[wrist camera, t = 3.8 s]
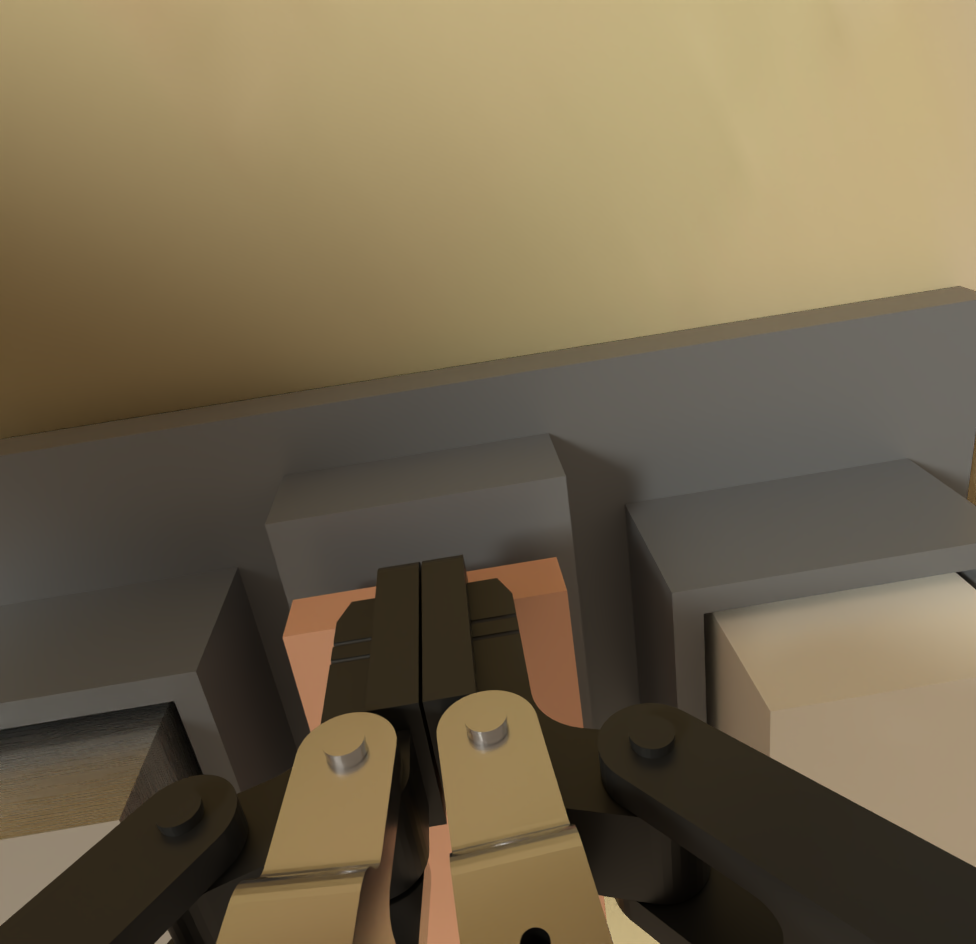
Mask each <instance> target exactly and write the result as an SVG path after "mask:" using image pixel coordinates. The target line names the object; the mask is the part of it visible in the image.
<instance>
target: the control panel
mask: <svg viewBox="0 0 976 944" xmlns="http://www.w3.org/2000/svg"><path fill="white" fill-rule="evenodd" d="M975 435H976V291H974V290H970V289H967V288H964V287H961V286H957V287H950V288H944V289H938V290H932V291H925V292H919V293H913V294H906V295H900V296H894V297H888V298H881V299H875V300H869V301H863V302H856V303H850V304H844V305H838V306H831V307H825V308H819V309H813V310H806V311H800V312H794V313H787V314H781V315H775V316H769V317H762V318H756V319H750V320H744V321H737V322H731V323H725V324H719V325H712V326H706V327H700V328H694V329H687V330H681V331H675V332H668V333H662V334H656V335H650V336H643V337H637V338H631V339H625V340H618V341H612V342H606V343H600V344H593V345H587V346H581V347H575V348H568V349H562V350H556V351H549V352H543V353H537V354H531V355H524V356H518V357H512V358H506V359H499V360H493V361H487V362H481V363H474V364H468V365H462V366H456V367H449V368H443V369H437V370H430V371H424V372H418V373H412V374H405V375H399V376H393V377H387V378H380V379H374V380H368V381H362V382H355V383H349V384H343V385H337V386H330V387H324V388H318V389H311V390H305V391H299V392H293V393H286V394H280V395H274V396H268V397H261V398H255V399H249V400H243V401H236V402H230V403H224V404H218V405H211V406H205V407H199V408H193V409H186V410H180V411H174V412H167V413H161V414H155V415H149V416H142V417H136V418H130V419H124V420H117V421H111V422H105V423H99V424H92V425H86V426H80V427H74V428H67V429H61V430H55V431H48V432H42V433H36V434H30V435H23V436H17V437H11V438H5V439H0V730H1V729H7V728H13V727H19V726H25V725H31V724H38V723H44V722H50V721H56V720H62V719H68V718H74V717H80V716H86V715H92V714H98V713H104V712H110V711H116V710H123V709H129V708H135V707H141V706H147V705H153V704H159V703H165V702H171V701H174V702H175V704H176V707H177V709H178V712H179V714H180V717H181V719H182V722H183V724H184V727H185V729H186V732H187V735H188V737H189V740H190V742H191V745H192V747H193V750H194V752H195V755H196V757H197V760H198V762H199V765H200V767H201V770H202V772H203V775H215V776H219V777H222V778H224V779H226V780H227V781H229V782H230V783H231V784H232V786H233V787H234V789H235V791H236V794H238V793H240V792H243V791H245V790H247V789H250V788H252V787H254V786H257V785H259V784H261V783H264V782H266V781H268V780H271V779H273V778H275V777H277V776H279V775H281V774H282V773H284V772H286V771H287V770H289V769H290V768H292V767H293V764H294V760H295V757H296V753H297V751H298V748H299V746H300V745H301V743H302V741H303V740H304V739H305V738H306V737H307V735H308V734H309V733H310V728H309V725H308V721H307V718H306V715H305V711H304V708H303V705H302V701H301V698H300V695H299V691H298V688H297V684H296V681H295V678H294V674H293V671H292V668H291V664H290V661H289V658H288V654H287V651H286V647H285V644H284V641H283V634H284V630H285V627H286V623H287V619H288V616H289V612H290V609H291V605H292V602H293V600H296V599H302V598H308V597H314V596H320V595H326V594H332V593H338V592H345V591H351V590H357V589H363V588H369V587H375V586H376V581H377V571H378V569H379V568H384V567H390V566H396V565H402V564H408V563H415V562H420V563H421V566H422V561H426V560H432V559H438V558H444V557H451V556H457V555H463V557H464V561H465V566H466V572H467V571H473V570H479V569H485V568H492V567H498V566H504V565H510V564H516V563H522V562H528V561H534V560H541V559H547V558H553V557H557V560H558V563H559V567H560V570H561V573H562V576H563V579H564V582H565V585H566V589H567V594H568V602H569V610H570V619H571V627H572V636H573V644H574V652H575V661H576V669H577V677H578V686H579V694H580V702H581V711H582V719H583V728H588V729H599V730H600V729H601V727H602V726H603V724H604V722H605V721H606V720H607V719H608V718H609V717H610V716H612V715H613V714H614V713H616V712H617V711H619V710H621V709H623V708H626V707H629V706H632V705H636V704H643V703H658V704H664V705H669V706H672V707H676V708H678V709H680V710H682V711H685V712H686V713H688V714H690V715H692V716H694V717H696V718H698V719H700V720H701V721H703V722H705V723H707V715H706V681H705V646H704V614H706V613H712V612H718V611H724V610H730V609H736V608H742V607H748V606H754V605H760V604H766V603H772V602H778V601H784V600H791V599H797V598H803V597H809V596H815V595H821V594H827V593H833V592H839V591H845V590H851V589H857V588H863V587H869V586H876V585H882V584H888V583H894V582H900V581H906V580H912V579H918V578H924V577H930V576H936V575H942V574H948V573H955V572H956V573H957V574H958V575H959V576H960V577H962V578H963V579H964V580H965V581H966V582H967V583H969V584H970V585H971V586H972V587H973V588H974V589H976V506H975V505H974V504H972V503H971V502H970V501H968V500H967V495H968V488H969V480H970V473H971V465H972V458H973V450H974V442H975Z"/></svg>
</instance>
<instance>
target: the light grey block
mask: <svg viewBox="0 0 976 944" xmlns="http://www.w3.org/2000/svg"><path fill="white" fill-rule="evenodd" d="M196 775H203V772H202V770H201V767H200V765H199V762H198V760H197V757H196V755H195V752H194V750H193V747H192V745H191V742H190V740H189V737H188V735H187V732H186V729H185V727H184V724H183V722H182V719H181V717H180V714H179V712H178V709H177V707H176V704H175V702H174V701H171V702H165V703H159V704H153V705H147V706H141V707H135V708H129V709H123V710H116V711H110V712H104V713H98V714H92V715H86V716H80V717H74V718H68V719H62V720H56V721H50V722H44V723H38V724H31V725H25V726H19V727H13V728H7V729H1V730H0V926H1V925H2V924H3V923H4V922H5V921H6V920H8V919H9V918H10V917H11V916H12V915H13V914H15V913H16V912H17V911H18V910H19V909H20V908H22V907H23V906H24V905H25V904H26V903H27V902H29V901H30V900H31V899H32V898H33V897H34V896H36V895H37V894H38V893H39V892H40V891H41V890H43V889H44V888H45V887H46V886H47V885H48V884H50V883H51V882H52V881H53V880H54V879H55V878H57V877H58V876H59V875H60V874H61V873H62V872H64V871H65V870H66V869H67V868H68V867H69V866H71V865H72V864H73V863H74V862H75V861H76V860H78V859H79V858H80V857H81V856H82V855H83V854H85V853H86V852H87V851H88V850H89V849H90V848H92V847H93V846H94V845H95V844H96V843H97V842H99V841H100V840H101V839H102V838H103V837H105V836H106V835H107V834H108V833H109V832H110V831H112V830H113V829H114V828H115V827H116V826H117V825H119V824H120V823H121V822H122V821H123V820H124V819H126V818H127V817H128V816H129V815H130V814H131V813H133V812H134V811H135V810H136V809H137V808H138V807H140V806H141V805H142V804H143V803H144V802H145V801H147V800H148V799H149V798H150V797H151V796H153V795H154V794H155V793H157V792H158V791H159V790H161V789H163V788H164V787H166V786H168V785H170V784H172V783H174V782H176V781H178V780H181V779H184V778H187V777H191V776H196ZM171 939H172V938H171V936H170V934H169V932H168V930H167V931H166V932H165V933H164V934H163V935H162V936H161V937H160V938H159V939H158V940H157V941H156V942H155V943H154V944H167V943H168V942H169V941H170V940H171Z"/></svg>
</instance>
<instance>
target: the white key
mask: <svg viewBox="0 0 976 944" xmlns="http://www.w3.org/2000/svg"><path fill="white" fill-rule="evenodd" d="M704 646H705V681H706V715H707V724H709V725H711V726H713V727H714V728H716V729H718V730H720V731H722V732H724V733H726V734H728V735H729V736H731V737H733V738H735V739H737V740H739V741H741V742H743V743H744V744H746V745H748V746H750V747H752V748H754V749H756V750H757V751H759V752H761V753H763V754H765V755H767V756H769V757H771V758H772V759H774V760H776V761H778V762H780V763H782V764H784V765H786V766H787V767H789V768H791V769H793V770H795V771H797V772H799V773H800V774H802V775H804V776H806V777H808V778H810V779H812V780H814V781H815V782H817V783H819V784H821V785H823V786H825V787H827V788H829V789H830V790H832V791H834V792H836V793H838V794H840V795H842V796H843V797H845V798H847V799H849V800H851V801H853V802H855V803H857V804H858V805H860V806H862V807H864V808H866V809H868V810H870V811H872V812H873V813H875V814H877V815H879V816H881V817H883V818H885V819H887V820H888V821H890V822H892V823H894V824H896V825H898V826H900V827H901V828H903V829H905V830H907V831H909V832H911V833H913V834H915V835H916V836H918V837H920V838H922V839H924V840H926V841H928V842H930V843H931V844H933V845H935V846H937V847H939V848H941V849H943V850H944V851H946V852H948V853H950V854H952V855H954V856H956V857H958V858H959V859H961V860H963V861H965V862H967V863H969V864H971V865H973V866H974V867H976V589H974V588H973V587H972V586H971V585H970V584H969V583H967V582H966V581H965V580H964V579H963V578H962V577H960V576H959V575H958V574H957V573H956V572H955V573H948V574H942V575H936V576H930V577H924V578H918V579H912V580H906V581H900V582H894V583H888V584H882V585H876V586H869V587H863V588H857V589H851V590H845V591H839V592H833V593H827V594H821V595H815V596H809V597H803V598H797V599H791V600H784V601H778V602H772V603H766V604H760V605H754V606H748V607H742V608H736V609H730V610H724V611H718V612H712V613H706V614H704Z"/></svg>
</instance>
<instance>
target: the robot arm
mask: <svg viewBox="0 0 976 944" xmlns="http://www.w3.org/2000/svg"><path fill="white" fill-rule="evenodd" d="M333 644H334V647H333V648H332V654H331V665H330V667H329V674H328V680H327V686H326V693H325V699H324V705H323V712H322V718H321V724H320V725H319V726H318V727H316V728H315V729H314V730H313V731H312V732H310V733H309V734H308V735H307V737H306V738H305V739H304V740H303V741H302V743H301V745H300V746H299V748H298V751H297V753H296V757H295V760H294V764H293V767H292V768H290V769H289V770H287V771H286V772H284V773H282V774H281V775H279V776H277V777H275V778H273V779H271V780H268V781H266V782H264V783H261V784H259V785H257V786H254V787H252V788H250V789H247V790H245V791H243V792H240V793H238V794H236V791H235V789H234V787H233V786H232V784H231V783H230V782H229V781H227V780H226V779H224V778H222V777H219V776H215V775H196V776H191V777H187V778H184V779H181V780H178V781H176V782H174V783H172V784H170V785H168V786H166V787H164V788H163V789H161V790H159V791H158V792H157V793H155V794H154V795H153V796H151V797H150V798H149V799H148V800H147V801H145V802H144V803H143V804H142V805H141V806H140V807H138V808H137V809H136V810H135V811H134V812H133V813H131V814H130V815H129V816H128V817H127V818H126V819H124V820H123V821H122V822H121V823H120V824H119V825H117V826H116V827H115V828H114V829H113V830H112V831H110V832H109V833H108V834H107V835H106V836H105V837H103V838H102V839H101V840H100V841H99V842H97V843H96V844H95V845H94V846H93V847H92V848H90V849H89V850H88V851H87V852H86V853H85V854H83V855H82V856H81V857H80V858H79V859H78V860H76V861H75V862H74V863H73V864H72V865H71V866H69V867H68V868H67V869H66V870H65V871H64V872H62V873H61V874H60V875H59V876H58V877H57V878H55V879H54V880H53V881H52V882H51V883H50V884H48V885H47V886H46V887H45V888H44V889H43V890H41V891H40V892H39V893H38V894H37V895H36V896H34V897H33V898H32V899H31V900H30V901H29V902H27V903H26V904H25V905H24V906H23V907H22V908H20V909H19V910H18V911H17V912H16V913H15V914H13V915H12V916H11V917H10V918H9V919H8V920H6V921H5V922H4V923H3V924H2V925H1V926H0V944H154V943H155V942H156V941H157V940H158V939H159V938H160V937H161V936H162V935H163V934H164V933H165V932H166V931H167V930H168V932H169V934H170V936H171V938H172V939H171V940H170V941H169V942H168V943H167V944H427V938H428V923H429V908H430V893H431V870H430V866H429V862H428V859H429V827H432V826H438V825H444V824H447V820H446V810H447V818H448V825H449V833H450V840H451V848H452V853H450V869H451V877H452V885H453V893H454V900H455V908H456V916H457V924H458V932H459V939H460V944H613V941H612V937H611V934H610V931H609V928H608V925H607V921H606V918H605V915H604V912H603V909H602V905H601V902H600V899H599V896H598V895H601V896H607V897H614V898H615V900H616V902H617V904H618V905H619V907H620V909H621V910H622V911H623V913H624V914H625V915H626V916H627V917H628V918H629V919H630V920H632V921H633V922H634V923H635V924H637V925H638V926H639V927H640V928H642V929H643V930H644V931H645V932H647V933H648V934H649V935H650V936H652V937H653V938H654V939H655V940H657V941H658V942H659V943H660V944H976V867H974V866H973V865H971V864H969V863H967V862H965V861H963V860H961V859H959V858H958V857H956V856H954V855H952V854H950V853H948V852H946V851H944V850H943V849H941V848H939V847H937V846H935V845H933V844H931V843H930V842H928V841H926V840H924V839H922V838H920V837H918V836H916V835H915V834H913V833H911V832H909V831H907V830H905V829H903V828H901V827H900V826H898V825H896V824H894V823H892V822H890V821H888V820H887V819H885V818H883V817H881V816H879V815H877V814H875V813H873V812H872V811H870V810H868V809H866V808H864V807H862V806H860V805H858V804H857V803H855V802H853V801H851V800H849V799H847V798H845V797H843V796H842V795H840V794H838V793H836V792H834V791H832V790H830V789H829V788H827V787H825V786H823V785H821V784H819V783H817V782H815V781H814V780H812V779H810V778H808V777H806V776H804V775H802V774H800V773H799V772H797V771H795V770H793V769H791V768H789V767H787V766H786V765H784V764H782V763H780V762H778V761H776V760H774V759H772V758H771V757H769V756H767V755H765V754H763V753H761V752H759V751H757V750H756V749H754V748H752V747H750V746H748V745H746V744H744V743H743V742H741V741H739V740H737V739H735V738H733V737H731V736H729V735H728V734H726V733H724V732H722V731H720V730H718V729H716V728H714V727H713V726H711V725H709V724H707V723H705V722H703V721H701V720H700V719H698V718H696V717H694V716H692V715H690V714H688V713H686V712H685V711H682V710H680V709H678V708H676V707H672V706H669V705H664V704H658V703H643V704H636V705H632V706H629V707H626V708H623V709H621V710H619V711H617V712H616V713H614V714H613V715H612V716H610V717H609V718H608V719H607V720H606V721H605V722H604V724H603V726H602V727H601V729H600V730H599V729H588V728H579V727H572V726H569V725H565V724H562V723H560V722H557V721H555V720H553V719H551V718H550V717H548V716H547V715H545V714H544V713H543V712H542V711H541V710H540V709H539V708H538V706H537V705H536V703H535V702H534V700H533V697H532V694H531V688H530V683H529V678H528V673H527V667H526V662H525V657H524V652H523V646H522V641H521V636H520V631H519V625H518V620H517V615H516V610H515V604H514V599H513V594H512V592H511V591H510V590H509V589H508V588H507V587H506V586H505V585H504V584H503V583H502V582H501V581H500V580H499V579H498V578H493V579H487V580H481V581H475V582H469V583H468V577H467V572H466V566H465V561H464V557H463V555H457V556H451V557H444V558H438V559H432V560H426V561H422V566H421V563H420V562H415V563H408V564H402V565H396V566H390V567H384V568H379V569H378V571H377V581H376V593H375V598H372V599H366V600H359V601H353V602H351V603H350V605H349V606H348V607H347V609H346V610H345V611H344V613H343V614H342V615H341V617H340V618H339V620H338V621H337V623H336V629H335V635H334V642H333Z"/></svg>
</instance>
